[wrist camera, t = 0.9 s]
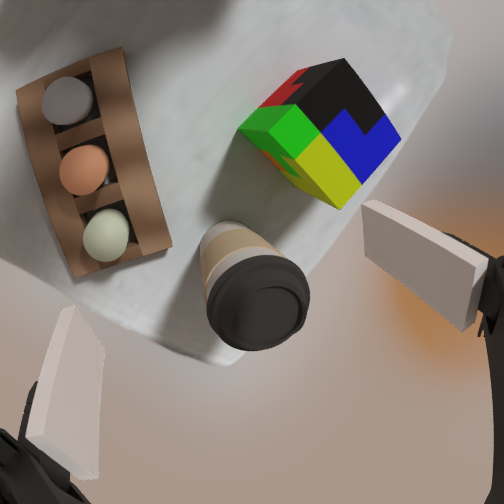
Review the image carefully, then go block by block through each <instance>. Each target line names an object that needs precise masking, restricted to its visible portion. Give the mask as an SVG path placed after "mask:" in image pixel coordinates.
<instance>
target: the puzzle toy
mask: <svg viewBox="0 0 504 504" xmlns="http://www.w3.org/2000/svg"><path fill="white" fill-rule="evenodd" d="M238 130H239V131H240V132H241V133H242V134H243V135H244V136H246V137H247V138H248V139H249V140H250V141H251V142H252V143H253V144H254V145H255V146H256V147H257V148H258V149H259V150H260V151H261V152H262V153H263V154H264V155H265V156H266V157H267V158H268V159H269V160H270V161H271V162H272V163H273V164H274V165H275V166H276V167H277V168H278V169H279V170H280V171H281V172H282V173H283V174H284V175H285V176H286V177H287V178H288V179H289V180H290V182H291V183H292V184H293V185H294V186H295V187H296V188H298V189H300V190H302V191H304V192H306V193H308V194H310V195H312V196H314V197H316V198H318V199H319V200H321V201H323V202H325V203H327V204H329V205H331V206H333V207H334V208H336V209H338V210H340V209H341V208H342V207H343V206H344V205H345V204H346V203H347V201H348V200H349V199H350V198H351V197H352V196H353V195H354V194H355V192H356V191H357V190H358V189H359V188H360V187H361V186H362V185H363V183H364V182H365V181H366V180H367V179H368V178H369V177H370V175H371V174H372V173H373V172H374V171H375V170H376V168H377V167H378V166H379V165H380V164H381V163H382V162H383V160H384V159H385V158H386V157H387V156H388V155H389V153H390V152H391V151H392V150H393V149H394V148H395V146H396V145H397V144H398V143H399V142H400V141H401V138H400V136H399V134H398V133H397V131H396V130H395V128H394V126H393V125H392V123H391V122H390V120H389V119H388V117H387V116H386V114H385V113H384V111H383V110H382V108H381V107H380V105H379V104H378V102H377V101H376V99H375V98H374V97H373V95H372V94H371V92H370V91H369V90H368V88H367V87H366V86H365V84H364V83H363V81H362V80H361V79H360V77H359V76H358V75H357V74H356V72H355V71H354V70H353V68H352V67H351V66H350V65H349V63H348V62H347V61H346V60H345V58H342V59H338V60H334V61H330V62H326V63H322V64H319V65H315V66H311V67H308V68H304V69H301V70H298V71H296V72H295V73H294V74H293V75H292V76H291V77H290V78H289V79H288V80H287V81H286V82H284V83H283V84H282V85H281V86H280V87H279V88H278V89H277V90H276V91H275V92H274V93H273V94H272V95H271V96H270V97H269V98H268V99H267V100H266V101H265V102H264V103H263V104H262V105H261V106H259V107H258V108H257V109H256V110H255V111H254V112H253V113H252V114H251V115H250V116H249V117H248V118H247V119H246V120H245V122H244V123H243V124H242V125H241V126H240V127H239V128H238Z"/></svg>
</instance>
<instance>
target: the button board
mask: <svg viewBox="0 0 504 504" xmlns="http://www.w3.org/2000/svg"><path fill="white" fill-rule="evenodd" d="M91 74H92V77H93V82H94V87H95V92H96V97H97V101H98V106H99V110H100V114H101V117H100V118H97V119H95V120H92V121H89V122H87V123H84V124H81V125H79V126H76V127H74V128H71V129H69V130H66V131H64V132H61V133H60V130H59V126H58V124H54V123H51V122H50V121H48V120H47V119H46V117H45V116H44V114H43V111H42V98H43V95H44V93H45V91H46V89H47V88H48V86H49V85H50V84H51V83H53V82H54V81H55V80H57V79H59V78H62V77H74V78H76V79H80V78H83V77H85V76H88V75H91ZM16 96H17V101H18V107H19V112H20V117H21V121H22V126H23V130H24V134H25V138H26V142H27V146H28V150H29V154H30V158H31V161H32V165H33V168H34V172H35V175H36V178H37V181H38V185H39V188H40V191H41V194H42V197H43V200H44V203H45V206H46V208H47V211H48V214H49V217H50V219H51V222H52V225H53V227H54V230H55V233H56V235H57V238H58V240H59V243H60V245H61V247H62V250H63V252H64V254H65V257H66V259H67V261H68V264H69V266H70V268H71V270H72V273H73V275H74V277H75V278H77V277H80V276H83V275H86V274H89V273H92V272H95V271H98V270H101V269H104V268H107V267H110V266H114V265H117V264H120V263H123V262H126V261H129V260H132V259H135V258H139V257H142V256H145V255H148V254H151V253H154V252H158V251H161V250H164V249H167V248H171V247H173V246H172V240H171V237H170V233H169V230H168V227H167V224H166V220H165V217H164V214H163V210H162V207H161V204H160V200H159V197H158V193H157V190H156V186H155V183H154V179H153V176H152V172H151V168H150V165H149V161H148V157H147V153H146V149H145V146H144V142H143V138H142V134H141V130H140V126H139V121H138V117H137V113H136V109H135V104H134V100H133V95H132V91H131V86H130V82H129V77H128V72H127V67H126V62H125V57H124V52H123V49H122V47H120V48H116V49H113V50H110V51H107V52H104V53H101V54H98V55H95V56H93V57H90V58H87V59H84V60H82V61H79V62H77V63H74V64H72V65H69V66H67V67H64V68H62V69H60V70H57V71H55V72H53V73H50V74H48V75H46V76H44V77H42V78H40V79H37V80H35V81H33V82H31V83H29V84H27V85H25V86H23V87H21V88H19V89H17V90H16ZM102 135H106V139H107V142H108V146H109V150H110V154H111V157H112V161H113V164H114V168H115V171H116V175H117V178H118V180H117V181H114V182H111V183H109V184H106V185H103V186H100V187H98V188H97V189H96V190H95V191H94V192H92V193H90V194H87V195H75V194H72V193H70V192H69V191H68V190H66V188H65V187H64V186H63V184H62V182H61V180H60V175H59V170H60V164H61V162H62V160H63V158H64V157H65V155H66V153H65V150H66V149H68V148H71V147H73V146H76V145H78V144H81V143H83V142H86V141H89V140H91V139H94V138H97V137H100V136H102ZM123 199H124V201H125V204H126V207H127V211H128V214H129V217H130V220H131V223H132V226H133V229H134V231H135V234H136V237H137V239H135V240H132V241H129V242H127V246H126V249H125V251H124V253H123V254H122V255H121V256H120V257H119V258H117V259H116V260H113V261H109V262H103V261H99V260H96V259H94V258H93V257H91V256H90V255H89V254H88V252H87V251H86V249H85V247H84V244H83V234H84V231H85V229H86V227H87V225H88V222H87V219H86V216H85V214H84V213H85V212H88V211H91V210H94V209H97V208H99V207H102V206H105V205H108V204H111V203H114V202H117V201H120V200H123Z"/></svg>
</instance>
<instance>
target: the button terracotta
mask: <svg viewBox="0 0 504 504" xmlns="http://www.w3.org/2000/svg"><path fill="white" fill-rule="evenodd" d="M109 169H110V161H109V158H108V155H107V154H106V152H105V151H104V150H103V149H102V148H101V147H99V146H97V145H92V144H88V145H84V146H81V147H78V148H75V149H73V150H71V151H69V152H68V153H67V154H66V155H65V157H64V158H63V160H62V162H61V164H60V170H59V175H60V180H61V182H62V184H63V186H64V187H65V188H66V190H68V191H69V192H70V193H72V194H75V195H87V194H90V193H92V192H94V191H95V190H96V189H97V188H98V187H99V186H100V185H101V184H102V183H103V181H104V180H105V179H106V177H107V175H108V173H109Z"/></svg>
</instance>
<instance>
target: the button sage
mask: <svg viewBox="0 0 504 504" xmlns="http://www.w3.org/2000/svg"><path fill="white" fill-rule="evenodd" d="M129 231H130V227H129V222H128V220H127V218H126V217H125V215H124V214H123V213H121V212H120V211H118V210H116V209H112V208H106V209H102V210H100V211H98V212H97V213H96V214H95V215H94V216H93V217H92V219H91V220H90V222H89V224H88V225H87V227H86V229H85V231H84V234H83V244H84V247H85V249H86V251H87V252H88V254H89V255H90V256H91V257H93V258H94V259H96V260H99V261H103V262H109V261H113V260H116V259H117V258H119V257H120V256H121V255H122V254H123V253H124V251H125V249H126V246H127V241H128V236H129Z"/></svg>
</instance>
